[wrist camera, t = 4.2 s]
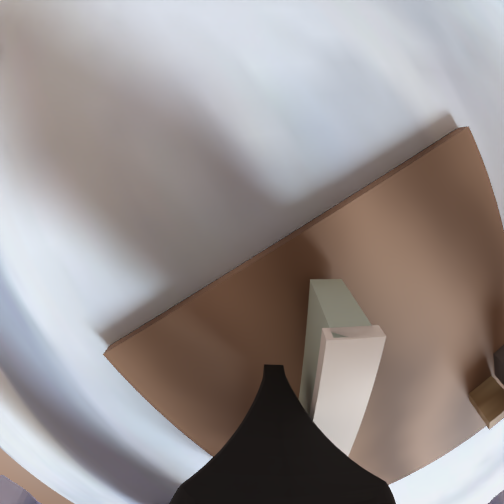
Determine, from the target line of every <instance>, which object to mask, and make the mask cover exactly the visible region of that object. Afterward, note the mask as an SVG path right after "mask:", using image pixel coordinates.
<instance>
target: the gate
mask: <svg viewBox="0 0 504 504" xmlns="http://www.w3.org/2000/svg"><path fill="white" fill-rule="evenodd" d="M385 340H386V335H385V334H384V332H383V331H382V329H381V328H380V326H379V325H371V323H370V322H369V320H368V318H367V317H366V315H365V314H364V312H363V311H362V309H361V308H360V306H359V305H358V303H357V301H356V300H355V298H354V297H353V295H352V294H351V292H350V291H349V289H348V288H347V286H346V285H345V283H344V282H343V280H342V279H310V288H309V302H308V315H307V326H306V337H305V348H304V358H303V367H302V376H301V385H300V393H299V401H300V403H301V405H302V406H303V408H304V409H305V411H306V412H307V413H308V415H309V416H310V418H311V419H312V420H313V422H314V423H315V424H316V425H317V427H318V428H319V429H320V430H321V431H322V432H323V433H324V435H325V436H326V437H327V438H328V439H329V440H330V441H331V442H332V443H333V444H334V445H335V446H336V447H338V448H339V449H340V450H341V451H342V452H343V453H344V454H346V455H347V456H349V453H350V451H351V448H352V446H353V443H354V441H355V438H356V435H357V433H358V430H359V427H360V425H361V422H362V419H363V416H364V413H365V410H366V407H367V404H368V401H369V398H370V395H371V391H372V388H373V385H374V381H375V378H376V374H377V371H378V367H379V363H380V360H381V356H382V352H383V348H384V344H385Z"/></svg>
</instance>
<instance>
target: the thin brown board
mask: <svg viewBox="0 0 504 504" xmlns="http://www.w3.org/2000/svg"><path fill="white" fill-rule="evenodd" d="M310 279H342V280H343V282H344V283H345V285H346V286H347V288H348V289H349V291H350V292H351V294H352V295H353V297H354V298H355V300H356V301H357V303H358V305H359V306H360V308H361V309H362V311H363V312H364V314H365V315H366V317H367V318H368V320H369V322H370V323H371V325H379V326H380V328H381V329H382V331H383V332H384V334H385V335H386V340H385V344H384V348H383V352H382V356H381V360H380V363H379V367H378V371H377V374H376V378H375V381H374V385H373V388H372V391H371V395H370V398H369V401H368V404H367V407H366V410H365V413H364V416H363V419H362V422H361V425H360V427H359V430H358V433H357V435H356V438H355V441H354V443H353V446H352V448H351V451H350V453H349V456H348V457H349V458H350V459H352V460H353V461H354V462H356V463H357V464H358V465H360V466H361V467H362V468H364V469H365V470H367V471H368V472H370V473H372V474H374V475H375V476H377V477H379V478H381V479H382V480H384V481H386V482H387V484H388V485H389V484H391V483H393V482H396V481H398V480H400V479H402V478H404V477H406V476H408V475H410V474H412V473H414V472H415V471H417V470H419V469H421V468H423V467H425V466H426V465H428V464H430V463H432V462H433V461H435V460H437V459H438V458H440V457H442V456H443V455H445V454H447V453H448V452H450V451H451V450H453V449H454V448H456V447H457V446H459V445H460V444H462V443H463V442H465V441H466V440H468V439H469V438H471V437H472V436H473V435H475V434H476V433H477V432H479V431H480V430H481V429H483V428H484V427H485V426H487V427H488V428H489V429H490V428H492V427H493V426H494V425H495V424H497V423H498V422H499V421H500V420H502V419H503V418H504V230H503V225H502V221H501V217H500V213H499V210H498V206H497V202H496V199H495V196H494V192H493V189H492V186H491V183H490V180H489V177H488V174H487V171H486V168H485V165H484V163H483V160H482V157H481V155H480V152H479V150H478V147H477V145H476V142H475V140H474V138H473V135H472V133H471V131H470V129H469V127H460V128H457V129H456V130H454V131H453V132H451V133H450V134H448V135H446V136H445V137H443V138H442V139H440V140H439V141H437V142H435V143H434V144H432V145H431V146H429V147H428V148H426V149H424V150H423V151H421V152H420V153H418V154H417V155H415V156H413V157H412V158H410V159H409V160H407V161H405V162H404V163H402V164H401V165H399V166H398V167H396V168H394V169H393V170H391V171H390V172H388V173H387V174H385V175H383V176H382V177H380V178H379V179H377V180H375V181H374V182H372V183H371V184H369V185H368V186H366V187H364V188H363V189H361V190H360V191H358V192H356V193H355V194H353V195H352V196H350V197H348V198H347V199H345V200H344V201H342V202H341V203H339V204H337V205H336V206H334V207H333V208H331V209H329V210H328V211H326V212H325V213H323V214H321V215H320V216H318V217H317V218H315V219H313V220H312V221H310V222H309V223H307V224H305V225H304V226H302V227H301V228H299V229H297V230H296V231H294V232H293V233H291V234H289V235H288V236H286V237H285V238H283V239H281V240H280V241H278V242H277V243H275V244H273V245H272V246H270V247H269V248H267V249H265V250H264V251H262V252H261V253H259V254H257V255H256V256H254V257H253V258H251V259H249V260H248V261H246V262H245V263H243V264H241V265H240V266H238V267H236V268H235V269H233V270H232V271H230V272H228V273H227V274H225V275H224V276H222V277H220V278H219V279H217V280H216V281H214V282H212V283H211V284H209V285H207V286H206V287H204V288H203V289H201V290H199V291H198V292H196V293H195V294H193V295H191V296H190V297H188V298H186V299H185V300H183V301H182V302H180V303H178V304H177V305H175V306H174V307H172V308H170V309H169V310H167V311H165V312H164V313H162V314H161V315H159V316H157V317H156V318H154V319H152V320H151V321H149V322H148V323H146V324H144V325H143V326H141V327H139V328H138V329H136V330H135V331H133V332H131V333H130V334H128V335H126V336H125V337H123V338H121V339H120V340H118V341H117V342H115V343H113V344H112V345H110V346H109V347H108V348H107V350H106V351H105V352H104V354H103V355H104V356H105V357H106V358H107V359H108V360H109V362H110V363H111V364H112V365H113V366H114V367H115V368H116V369H117V370H118V372H119V373H120V374H121V375H122V376H123V377H124V378H125V379H126V380H127V381H128V382H129V383H130V384H131V385H132V386H133V387H134V388H135V389H136V390H137V391H138V392H139V393H140V394H141V395H142V396H143V397H144V398H145V399H146V400H147V401H148V402H149V403H150V404H151V405H152V406H153V407H154V408H155V409H156V410H157V411H159V412H160V413H161V414H162V415H163V416H164V417H165V418H166V419H167V420H169V421H170V422H171V423H172V424H173V425H174V426H175V427H177V428H178V429H179V430H180V431H181V432H182V433H184V434H185V435H186V436H187V437H188V438H190V439H191V440H192V441H193V442H195V443H196V444H197V445H198V446H200V447H201V448H202V449H204V450H205V451H206V452H207V453H209V454H210V455H211V456H213V457H214V456H215V455H216V454H217V453H218V452H219V451H220V450H221V449H222V447H223V446H224V445H225V444H226V443H227V441H228V440H229V439H230V438H231V436H232V435H233V434H234V433H235V431H236V430H237V428H238V427H239V425H240V424H241V422H242V421H243V419H244V418H245V416H246V414H247V412H248V411H249V409H250V407H251V405H252V403H253V401H254V399H255V397H256V394H257V392H258V390H259V387H260V384H261V381H262V378H263V370H264V364H268V365H283V366H284V371H285V375H286V378H287V380H288V382H289V384H290V386H291V388H292V390H293V391H294V393H295V395H296V396H297V398H298V400H299V393H300V385H301V376H302V367H303V358H304V348H305V337H306V326H307V315H308V302H309V288H310Z"/></svg>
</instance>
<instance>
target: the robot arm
mask: <svg viewBox="0 0 504 504" xmlns="http://www.w3.org/2000/svg"><path fill="white" fill-rule="evenodd" d="M0 504H41V503H39V502H37V501H36V499H35V498H34V497H33V496H32V495H31V494H30V493H29V492H27V491H26V490H25V489H23V488H22V487H20V486H19V485H17V484H15V483H14V482H12V481H11V480H10V479H8V478H6V477H5V476H4V475H0ZM169 504H396V503H395V500H394V497H393V494H392V492H391V490H390V488H389V486H388V484H387V482H386V481H384V480H382V479H381V478H379V477H377V476H375V475H374V474H372V473H370V472H368V471H367V470H365V469H364V468H362V467H361V466H360V465H358V464H357V463H356V462H354V461H353V460H352V459H350V458H349V457H348V456H347V455H346V454H344V453H343V452H342V451H341V450H340V449H339V448H338V447H336V446H335V445H334V444H333V443H332V442H331V441H330V440H329V439H328V438H327V437H326V436H325V435H324V433H323V432H322V431H321V430H320V429H319V428H318V427H317V425H316V424H315V423H314V422H313V420H312V419H311V418H310V416H309V415H308V413H307V412H306V411H305V409H304V408H303V406H302V405H301V403H300V401H299V400H298V398H297V396H296V395H295V393H294V391H293V390H292V388H291V386H290V384H289V382H288V380H287V378H286V375H285V371H284V366H283V365H268V364H264V370H263V378H262V381H261V384H260V387H259V390H258V392H257V394H256V397H255V399H254V401H253V403H252V405H251V407H250V409H249V411H248V412H247V414H246V416H245V418H244V419H243V421H242V422H241V424H240V425H239V427H238V428H237V430H236V431H235V433H234V434H233V435H232V436H231V438H230V439H229V440H228V441H227V443H226V444H225V445H224V446H223V447H222V449H221V450H220V451H219V452H218V453H217V454H216V455H215V456H214V457H213V458H212V459H211V460H210V461H209V462H208V463H207V464H206V465H205V466H204V467H203V468H201V469H200V470H199V471H198V472H197V473H195V474H194V475H193V476H192V477H190V478H189V479H188V480H186V481H185V482H184V483H182V484H181V485H180V487H179V488H178V490H177V491H176V493H175V495H174V496H173V498H172V500H171V501H170V503H169ZM488 504H504V490H503V491H502V492H501V493H499V494H498V495H497V496H496V497H494V498H493V499H492V500H491V501H490V503H488Z"/></svg>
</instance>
